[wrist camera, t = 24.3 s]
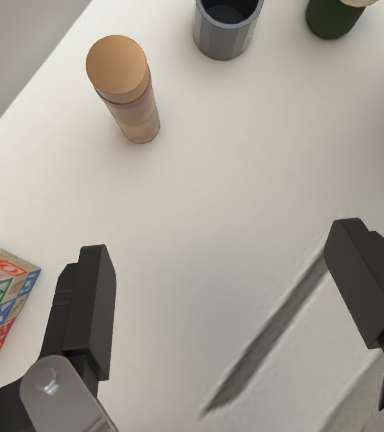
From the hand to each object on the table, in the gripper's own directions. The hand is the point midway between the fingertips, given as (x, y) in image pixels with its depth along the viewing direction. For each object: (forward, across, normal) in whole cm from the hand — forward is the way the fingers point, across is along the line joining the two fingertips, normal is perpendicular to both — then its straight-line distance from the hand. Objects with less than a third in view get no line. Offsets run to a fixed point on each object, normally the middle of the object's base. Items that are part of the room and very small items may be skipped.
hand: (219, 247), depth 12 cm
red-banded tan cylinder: (+29, +5, +10) cm, 31 cm away
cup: (+37, -6, +3) cm, 37 cm away
